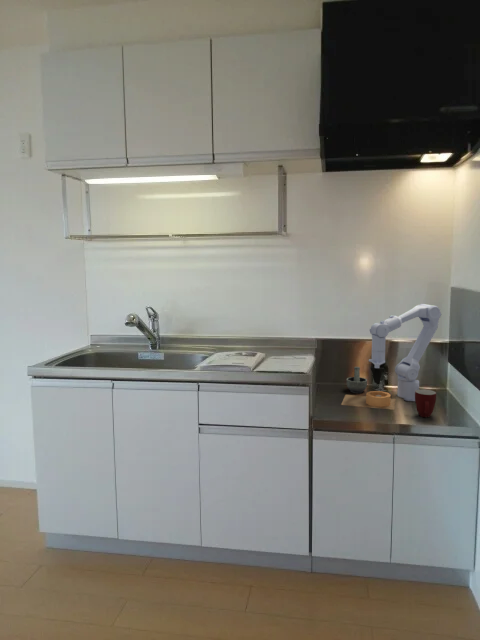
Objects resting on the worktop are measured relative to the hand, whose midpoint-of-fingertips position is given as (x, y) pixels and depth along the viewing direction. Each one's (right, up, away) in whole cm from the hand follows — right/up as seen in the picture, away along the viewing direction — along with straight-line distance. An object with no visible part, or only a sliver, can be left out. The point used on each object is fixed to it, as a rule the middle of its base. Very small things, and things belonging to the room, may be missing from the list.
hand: (377, 380), depth 223 cm
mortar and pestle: (-6, -8, +14) cm, 17 cm away
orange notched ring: (-1, -9, -6) cm, 11 cm away
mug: (+14, -12, -20) cm, 27 cm away
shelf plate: (-5, -10, -3) cm, 12 cm away
